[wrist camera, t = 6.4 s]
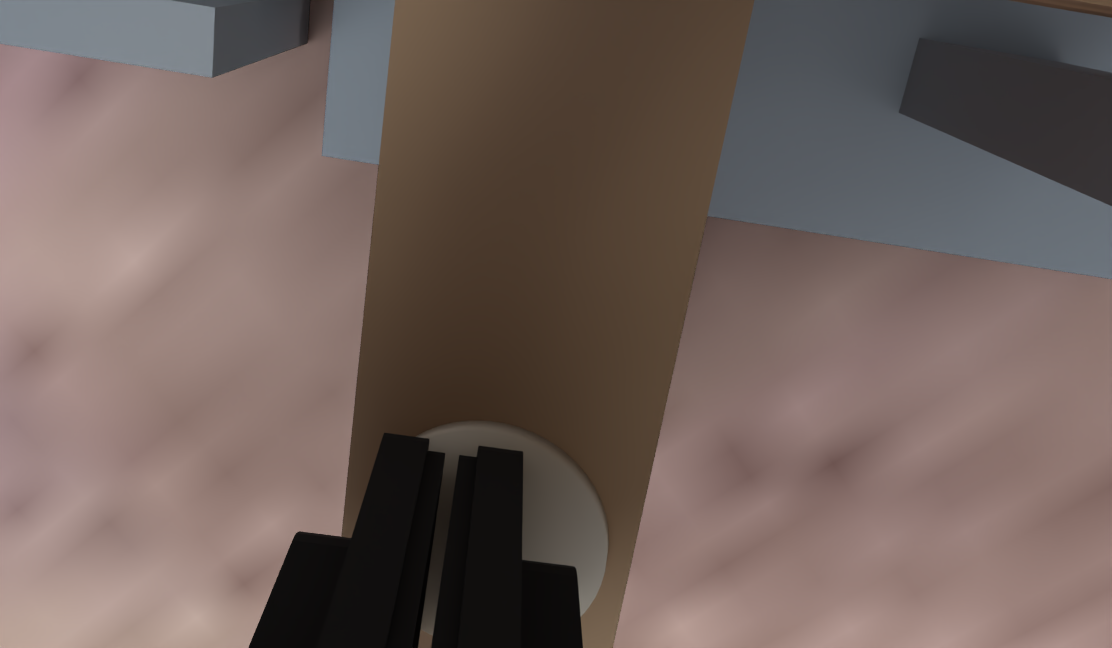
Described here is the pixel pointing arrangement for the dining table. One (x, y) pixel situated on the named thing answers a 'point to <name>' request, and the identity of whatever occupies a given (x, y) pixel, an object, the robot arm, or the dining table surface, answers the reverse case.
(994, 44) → the fulcrum
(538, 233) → the seesaw
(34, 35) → the tray
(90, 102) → the dining table surface
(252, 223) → the dining table surface
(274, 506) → the dining table surface
